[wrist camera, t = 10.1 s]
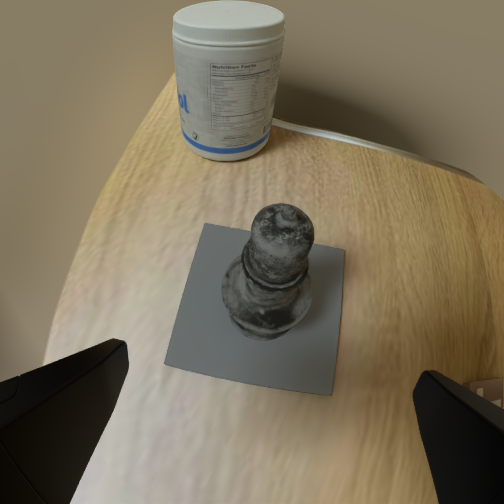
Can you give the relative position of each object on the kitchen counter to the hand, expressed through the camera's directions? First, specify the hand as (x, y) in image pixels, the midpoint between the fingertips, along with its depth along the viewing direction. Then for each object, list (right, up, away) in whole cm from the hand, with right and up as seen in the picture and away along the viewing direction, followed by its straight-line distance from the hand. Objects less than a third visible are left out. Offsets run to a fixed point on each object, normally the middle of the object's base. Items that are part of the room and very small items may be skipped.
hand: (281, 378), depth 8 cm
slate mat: (0, -1, +15) cm, 15 cm away
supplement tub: (-4, +16, +24) cm, 29 cm away
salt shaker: (0, -1, +15) cm, 15 cm away
